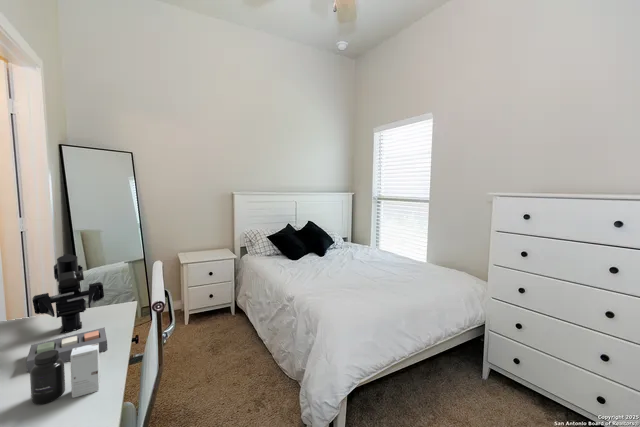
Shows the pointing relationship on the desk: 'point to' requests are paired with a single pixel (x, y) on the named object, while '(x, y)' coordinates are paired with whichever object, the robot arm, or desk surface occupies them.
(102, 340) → the keyguard
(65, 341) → the cream key
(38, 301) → the robot arm
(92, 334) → the terracotta key
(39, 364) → the supplement bottle
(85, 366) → the skincare box
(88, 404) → the desk surface
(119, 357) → the desk surface
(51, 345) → the sage key
